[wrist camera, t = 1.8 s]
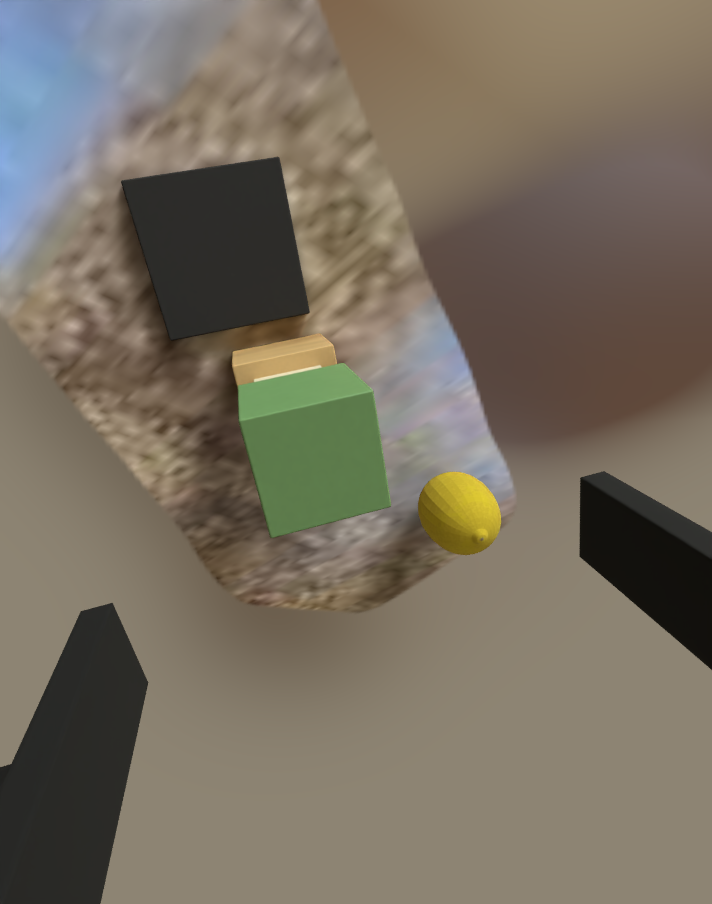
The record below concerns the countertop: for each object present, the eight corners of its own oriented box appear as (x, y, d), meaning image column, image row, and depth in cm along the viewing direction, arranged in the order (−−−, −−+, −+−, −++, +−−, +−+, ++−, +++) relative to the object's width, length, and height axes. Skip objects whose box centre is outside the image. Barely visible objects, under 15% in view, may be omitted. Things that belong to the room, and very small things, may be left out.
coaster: (122, 182, 28) (120, 180, 28) (278, 158, 29) (279, 156, 29) (171, 339, 32) (170, 340, 31) (308, 312, 33) (310, 313, 32)
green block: (237, 385, 25) (237, 420, 19) (343, 362, 25) (373, 389, 20) (263, 482, 27) (270, 539, 21) (360, 458, 28) (391, 507, 22)
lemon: (455, 445, 39) (506, 487, 32) (477, 499, 41) (529, 550, 34) (394, 478, 39) (431, 528, 31) (419, 530, 41) (459, 588, 34)
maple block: (232, 351, 33) (231, 366, 28) (320, 333, 34) (333, 344, 29) (254, 434, 35) (257, 460, 30) (336, 415, 36) (350, 438, 31)
